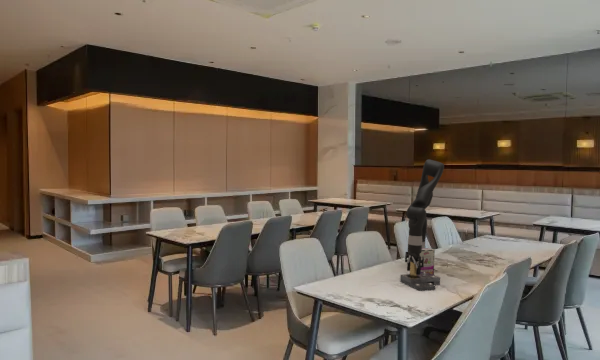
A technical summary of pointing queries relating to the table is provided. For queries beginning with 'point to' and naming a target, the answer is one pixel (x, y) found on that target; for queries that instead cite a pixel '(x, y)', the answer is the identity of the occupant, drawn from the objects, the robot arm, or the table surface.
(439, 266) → the table surface
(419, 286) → the lower chain end
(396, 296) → the table surface
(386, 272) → the table surface
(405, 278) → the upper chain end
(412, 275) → the brass pin
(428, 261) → the candy bar box
